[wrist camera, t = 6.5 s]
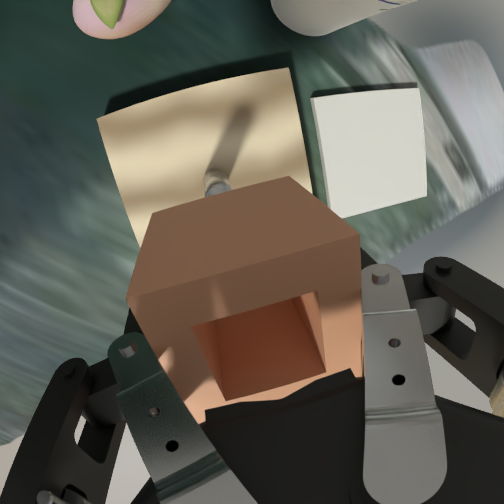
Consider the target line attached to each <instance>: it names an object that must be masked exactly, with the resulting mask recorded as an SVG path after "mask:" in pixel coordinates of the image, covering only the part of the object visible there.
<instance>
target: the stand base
mask: <svg viewBox="0 0 504 504" xmlns="http://www.w3.org/2000/svg"><path fill="white" fill-rule="evenodd" d="M97 122H98V125H99V129H100V132H101V136H102V139H103V142H104V146H105V149H106V152H107V155H108V159H109V162H110V165H111V168H112V171H113V174H114V177H115V180H116V183H117V186H118V189H119V192H120V195H121V198H122V200H123V203H124V206H125V209H126V212H127V214H128V217H129V220H130V223H131V225H132V228H133V230H134V233H135V236H136V238H137V241H138V243H139V246H140V249H141V245H142V242H143V239H144V236H145V233H146V230H147V227H148V224H149V221H150V218H151V215H152V213H154V212H157V211H160V210H163V209H167V208H170V207H174V206H177V205H180V204H184V203H187V202H191V201H194V200H198V199H201V198H205V195H204V186H203V177H204V175H205V173H206V172H207V171H209V170H211V169H220V170H222V171H223V172H224V173H225V174H226V176H227V178H228V181H229V183H230V185H231V187H232V189H233V190H234V189H238V188H242V187H245V186H249V185H253V184H257V183H261V182H265V181H269V180H273V179H277V178H281V177H286V176H290V177H291V178H293V179H294V180H295V181H296V182H298V183H299V184H300V185H301V186H303V187H304V188H305V189H306V190H308V191H309V192H310V193H311V194H312V187H311V181H310V175H309V169H308V163H307V157H306V151H305V146H304V140H303V135H302V130H301V124H300V119H299V114H298V109H297V104H296V99H295V94H294V89H293V85H292V80H291V75H290V71H289V68H282V69H276V70H270V71H264V72H258V73H253V74H248V75H243V76H238V77H233V78H228V79H224V80H219V81H215V82H211V83H207V84H203V85H199V86H195V87H191V88H187V89H184V90H180V91H177V92H173V93H170V94H166V95H163V96H160V97H157V98H153V99H150V100H147V101H144V102H141V103H138V104H135V105H132V106H130V107H127V108H124V109H121V110H118V111H116V112H113V113H110V114H108V115H105V116H103V117H100V118H98V119H97Z"/></svg>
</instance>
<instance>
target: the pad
mask: <svg viewBox="0 0 504 504" xmlns="http://www.w3.org/2000/svg"><path fill="white" fill-rule="evenodd" d="M310 100H311V105H312V110H313V115H314V121H315V126H316V132H317V138H318V144H319V150H320V156H321V162H322V169H323V175H324V182H325V189H326V197H327V204H328V208H330V209H331V210H332V211H333V212H334V213H336V214H337V215H338V216H339V217H340V218H345V217H349V216H353V215H356V214H360V213H364V212H368V211H371V210H375V209H379V208H383V207H387V206H390V205H394V204H398V203H402V202H406V201H409V200H413V199H417V198H421V197H425V196H427V179H426V155H425V139H424V127H423V117H422V108H421V100H420V92H419V88H403V89H387V90H374V91H363V92H353V93H344V94H336V95H329V96H321V97H314V98H310Z"/></svg>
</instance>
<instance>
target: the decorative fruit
mask: <svg viewBox="0 0 504 504" xmlns="http://www.w3.org/2000/svg"><path fill="white" fill-rule="evenodd" d="M170 2H171V0H74V2H73V17H74V20H75V23H76V24H77V26H78V27H79V28H80V29H81V30H82V31H83V32H84V33H86V34H88V35H90V36H93V37H96V38H101V39H116V38H121V37H125V36H128V35H131V34H133V33H135V32H137V31H139V30H140V29H142V28H143V27H145V26H146V25H148V24H149V23H150V22H152V21H153V20H154V19H155V18H156V17H158V16H159V15H160V14H161V13H162V12H163V11H164V9H165V8H166V7H167V6H168V5H169V3H170Z"/></svg>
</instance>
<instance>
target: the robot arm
mask: <svg viewBox="0 0 504 504" xmlns="http://www.w3.org/2000/svg"><path fill="white" fill-rule="evenodd" d="M360 252H361V276H362V288H361V289H360V304H361V322H362V341H361V343H360V359H361V377H355V375H354V374H353V372H352V370H351V368H348V369H346V370H343V371H340V372H337V373H334V374H332V375H329V376H326V377H323V378H320V379H317V380H315V381H313V382H311V383H309V384H308V385H306V386H304V387H302V388H301V389H299V390H297V391H295V392H293V393H292V394H290V395H288V396H286V397H284V398H282V399H277V400H264V401H244V402H237V403H233V404H229V405H224V406H220V407H216V408H211V409H206V410H205V420H206V421H204V422H202V423H200V424H198V422H197V421H196V419H195V418H194V416H193V415H192V413H191V412H190V410H189V409H188V407H187V406H186V404H185V403H184V401H183V399H182V398H181V396H180V395H179V393H178V392H177V390H176V389H175V387H174V385H173V384H172V382H171V380H170V379H169V377H168V375H167V374H166V372H165V370H164V369H163V367H162V365H161V363H160V362H159V360H158V358H157V357H156V355H155V353H154V351H153V349H152V348H151V346H150V344H149V343H148V341H147V339H146V337H145V335H144V333H143V332H142V330H141V328H140V326H139V324H138V322H137V320H136V318H135V316H134V314H133V312H132V311H131V309H130V308H129V313H128V314H129V315H128V317H127V321H126V326H125V330H124V335H122V336H120V337H119V338H117V339H116V340H115V341H114V342H113V343H112V344H111V345H110V347H109V349H108V358H107V359H105V360H103V361H100V362H98V363H96V364H94V365H92V366H90V367H89V366H88V364H87V363H86V361H85V360H84V359H82V358H72V359H69V360H67V361H65V362H64V363H63V364H61V365H60V366H59V367H58V369H57V370H56V371H55V373H54V375H53V377H52V379H51V381H50V383H49V385H48V387H47V389H46V391H45V393H44V395H43V397H42V399H41V401H40V403H39V405H38V407H37V409H36V411H35V413H34V415H33V418H32V420H31V422H30V424H29V426H28V428H27V431H26V433H25V435H24V438H23V440H22V442H21V444H20V447H19V449H18V452H17V454H16V457H15V459H14V461H13V464H12V467H11V469H10V472H9V474H8V477H7V480H6V482H5V486H4V488H3V491H2V494H1V496H0V504H105V502H106V497H107V493H108V489H109V485H110V481H111V477H112V473H113V469H114V465H115V461H116V458H117V454H118V450H119V447H120V443H121V439H122V436H123V432H124V429H125V425H126V422H127V425H128V427H129V430H130V432H131V434H132V437H133V439H134V442H135V444H136V446H137V448H138V451H139V453H140V455H141V457H142V460H143V461H144V464H145V466H146V468H147V470H148V472H149V474H150V476H151V477H150V478H149V480H148V481H147V482H146V484H145V485H144V486H143V488H142V489H141V491H140V492H139V493H138V494H137V496H136V497H135V498H134V500H133V501H132V502H131V504H504V288H502V287H501V286H499V285H497V284H496V283H494V282H492V281H491V280H489V279H487V278H486V277H484V276H482V275H480V274H479V273H477V272H475V271H474V270H472V269H470V268H468V267H467V266H465V265H463V264H461V263H460V262H458V261H456V260H454V259H452V258H448V257H434V258H431V259H429V260H428V261H426V262H425V264H424V271H423V273H417V274H409V275H402V274H401V272H400V270H399V269H397V268H396V267H394V266H392V265H389V264H377V263H376V262H375V261H374V260H373V259H372V258H371V257H370V256H369V255H368V254H367V253H366V252H365V251H364V250H362V248H361V247H360ZM456 309H458V310H459V311H461V312H462V313H463V314H465V315H466V316H468V317H469V318H470V319H471V320H472V321H473V322H474V324H475V327H476V332H474V331H473V330H472V329H470V328H469V327H468V326H466V325H465V324H464V323H462V322H461V321H460V320H458V319H457V318H455V312H456ZM424 342H425V343H427V344H428V345H429V346H430V347H431V348H432V349H434V350H435V351H436V352H437V353H438V354H439V355H441V356H442V357H443V358H444V359H445V360H447V361H448V362H449V363H450V364H451V365H452V366H453V367H455V368H456V369H457V370H458V371H459V372H460V373H462V374H463V375H464V376H465V377H466V378H467V379H469V380H470V381H471V382H472V383H473V384H474V385H475V386H476V387H478V388H479V389H480V390H481V391H482V392H483V393H485V395H487V396H488V397H489V399H490V400H489V401H490V405H491V408H492V410H493V412H492V414H491V413H487V412H484V411H481V410H478V409H475V408H472V407H469V406H465V405H463V404H459V403H457V402H454V401H451V400H448V399H445V398H442V397H440V396H437V395H434V391H433V385H432V379H431V373H430V367H429V363H428V357H427V353H426V348H425V344H424ZM81 415H82V416H83V417H84V418H85V419H86V423H85V425H84V428H83V431H82V434H81V436H80V440H79V442H78V445H77V444H76V442H75V438H74V433H75V429H76V427H77V424H78V421H79V419H80V416H81Z"/></svg>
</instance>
